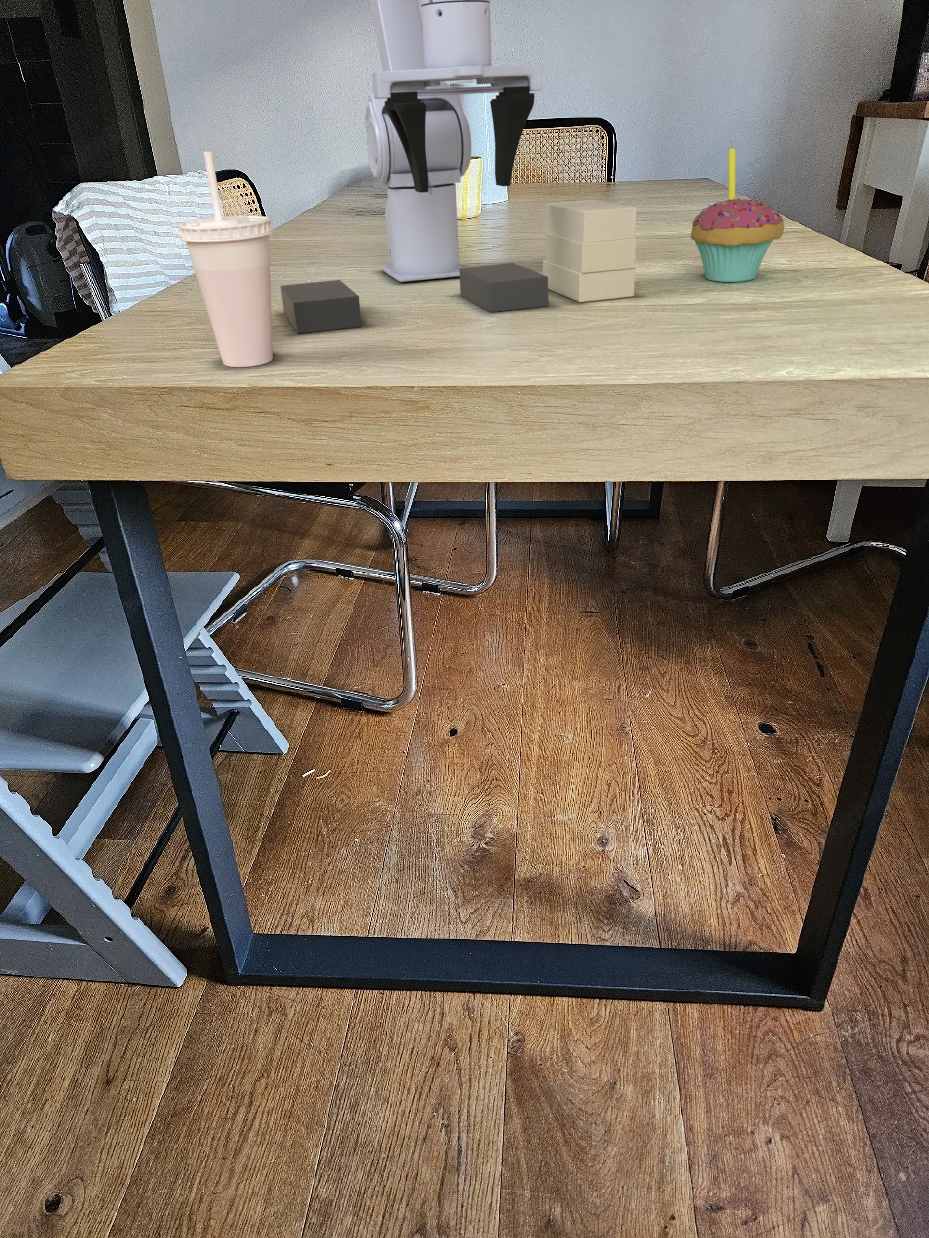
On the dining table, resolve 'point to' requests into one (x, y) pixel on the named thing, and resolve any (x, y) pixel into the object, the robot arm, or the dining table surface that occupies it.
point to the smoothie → (233, 278)
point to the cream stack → (590, 268)
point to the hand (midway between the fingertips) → (462, 188)
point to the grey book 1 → (321, 306)
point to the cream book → (591, 220)
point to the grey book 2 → (503, 287)
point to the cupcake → (735, 233)
